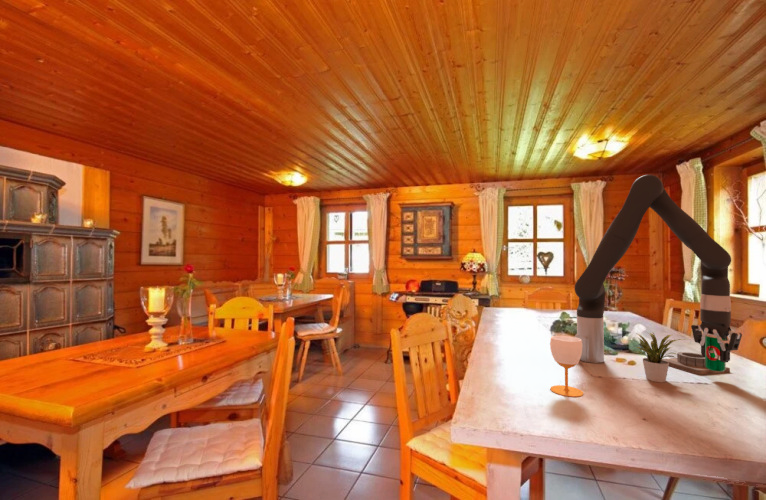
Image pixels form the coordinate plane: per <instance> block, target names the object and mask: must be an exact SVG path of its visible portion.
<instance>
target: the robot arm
mask: <svg viewBox="0 0 766 500" xmlns="http://www.w3.org/2000/svg"><path fill="white" fill-rule="evenodd" d="M628 192H629V193H628V195H627V196H626V199H625V201H624V203H623V205H622V207H621V209H620V210H619V212H618V213H617V214H616V216H615V217H614V219H613V220H612V222H611V223H610V225H609V227H608V228H607V229H606V232H605V233H604V235H603V237H602V238H601V240H600V242H599V244H598V246H597V248H596V250H595V251H594V253H593V256H592V258H591V260H590V262H589V263H588V265H587V267H586V268H585V270H584V271H582V272H583V273H582V274H581V275H580V276H579V278H578V279H577V280H576V282H575V284H574V292H575V295H576V296H577V298H578V306H577V309H576V334H575V335H574V337H576V338H579V339H581V340H582V355H581V358H580V360H579V361H582V362H584V363H595V364H597V363H598V364H599V363H604V362H605V346H604V345H605V340H604V336H605V334H604V333H605V332H604V330H605V327H604V313H605V312H604V311H605V308H606V307H605V306H606V305H605V304H606V303H605V302H606V299H605V298H606V297H605V296H606V293H605V285H604V282H605V280H606V278H607V276H608V275H609V273H610V272H611V271H612V269H613V268H614V267H615V266H616V265H617V264H618V262H620V260H621V259H622V258H623V256H624V255H625V254H626V252H627V251H628V250H629V248H630V246H631V244H632V243H633V241H634V239H635V238H636V235H637V233H638V231H639V228H640V225H641V223H642V220H643V218H644V216H645V214H646V213H647V211H648V210H649V208H650V209H651V210H653V211H654V212H655V213H656V214H657V215H658V216H659V217H660V219H661V220H662V221H663V222H664V223H665V224H666V225H667V227H668V228H669V229H670V231H671V232H672V233H673V234H674V235H675V237H677V238H678V240H679V241H681V242H682V243H683V245H685V246H686V248H688V249H690V250H691V252H693V254H695V255H696V257H697V258H698V259H699V261H700V270H701V287H700V288H701V292H700V300H699V302H700V307H699V308H700V313H699V315H700V316H699V318H700V319H699V320H700V321H701V323H700V324H692V325H691V332H692V337H693V340H694V342H695V343H697V344H699V345H700V354H702V356H703V357H705V335H707V333H711V334H714V335H715V336H716V337H717V342H718V343H719V344H720V346H721V349H722V351H721V362H726V363H729V362H730V361H731V351H738V350H739V347H740V343H741V340H742V338H743V334H742V333H741V332H736V331H733V330H732V329H731V323H732V300H731V284H730V280H729V266H730V265H731V263H732V257H731V255H730V253H729V251H727V250H726V249H725V248H724V247H723V246H721V244H719V243H718V242H717V241H716V240H714V239H713V237H712V236H710V234H709V233H708V232H706V230H705V229H704V228H703V227H702V226H701V225H700V224H699V223H698V222H697V221H696V220H695V219H694V218H693V217H691V216H690V215H689V214H688V213H687V212H685V210H684V209H682V208H681V207H679V205H678V204H677V203H676V202H675V201H674V200H673V199H672V198H671V197H670V195H669V193H668V192H667V190H666V189H665V187H664V184H663V181H662V179H660V178H659V177H658V176H656V175H655V174H654V175H653V174H645V175H642V176H640V177H637V178H636V179H635V180H634V182H633V183H632V184H631V187H630V189H629V191H628ZM725 338H726V340H725V341H723V340H722V339H725Z"/></svg>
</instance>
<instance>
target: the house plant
mask: <svg viewBox="0 0 766 500" xmlns="http://www.w3.org/2000/svg"><path fill="white" fill-rule="evenodd" d="M645 331H646V330H645ZM646 332H647V333H648V331H646ZM635 333H636V332H635ZM636 335H638V336H639V337H640V338H639V337H637V339H638V340H639V344H640V346H635V348H636V349H639V350H641V351H643V352H645V353H646V354H645V353H643V352H641V351H637V353H638V354H639V353H640V354H642V355H644V356H646V357H644V358H642V363H643V367H644V373H645V378H646V379H647V380H648V381H652V382H655V383H657V382H658V383H666V381H667V376H668V370H669V367H670V366H669V362H667V361H665V360H662V359H665V357H667V358H668V357H669V358H670V357H671V358H675V356H674V355H676V356H677V352H668V351H669V350H670V349H672V348H673V347H669V346H670V345H671V344H672V343H674V342H677V341H684V340H685V341H686V339H683V338H682V339H681V338H679V339H669V338H670V337H671V336H672V334H669V335H668V334H667V335H665V336H664V337H663V338H662V340H661V341H660V343H659V346H658V339H657V338H656V335H655V333H654V332H652V333H651V332H649V336H650V337H651V339H652V340H651V341H650V344H649V342H648V340H647V339H646V338H644V337H643V336H642V335H641V334H639V333H636ZM634 337H635V338H636V336H634ZM667 352H668V353H667ZM670 354H674V355H670Z"/></svg>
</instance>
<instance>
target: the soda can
mask: <svg viewBox="0 0 766 500" xmlns="http://www.w3.org/2000/svg"><path fill="white" fill-rule="evenodd" d="M722 340H723V341H725V340H726V338H725V339H722ZM721 351H722V349H721V346H720V344H719V343H718V342H717V337H716V336H715V335H714V334H711V333H707V335H705V367H706V368H707V369H709V370H712V371H719V372H723V371H725V370H726V367H727V366H726V364H727V362H721Z"/></svg>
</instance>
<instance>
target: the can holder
mask: <svg viewBox="0 0 766 500" xmlns="http://www.w3.org/2000/svg"><path fill="white" fill-rule="evenodd" d="M676 354H677V355H676V357H671V358H662V360H665V361H667V362H669V366H668V367H671V368H676V369H677V370H682V371H685V372H688V373H692V374H694V375H699V376H700V375H713V374H725V373H730V372H731V368H730V367H727V366H726V370H725V371H723V372H719V371H712V370H709V369H707V368H706V367H705V357H703V356H702V354H701V353H696V352H688V351H683V352H682V351H679V352H676Z"/></svg>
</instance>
